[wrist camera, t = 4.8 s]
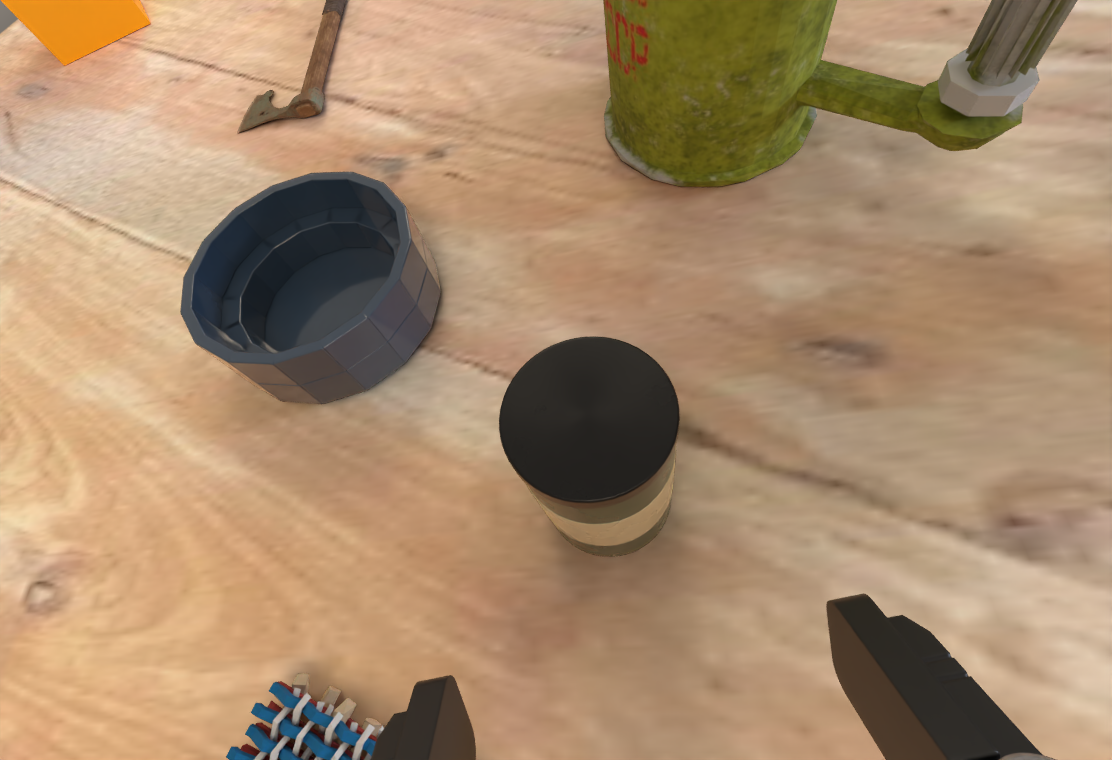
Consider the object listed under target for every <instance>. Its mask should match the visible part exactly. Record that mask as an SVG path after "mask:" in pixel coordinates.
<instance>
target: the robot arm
mask: <svg viewBox="0 0 1112 760" xmlns="http://www.w3.org/2000/svg"><path fill="white" fill-rule="evenodd" d="M826 607H827V617H828V626H829V634H830V643H831V651H832V659H833V664H834V668H835V671H836V674H837V677H838V679H839V682H840V684H841V686H842V688H843V690H844V692H845V694H846V695H847V697H848V699H849V700H850V702H851V704H852V705H853V707H854V708H855V710H856V712H857V713H858V715H859V717H860V718H861V720H862V721H863V723H864V725H865V726H866V728H867V730H868V731H869V733H870V735H871V736H872V738H873V739H874V741H875V743H876V744H877V746H878V748H879V749H880V751H881V752H882V754H883V756H884V757H885V759H886V760H1056V759H1053V758H1050V757H1047V756H1044V755H1042V754H1041V753H1040V752H1039V751H1038V750H1037V749H1036V748H1035V747H1034V745H1033V744H1032V743H1031V742H1030V741H1029V740H1028V739H1027V738H1026V737H1025V736H1024V734H1023V733H1022V732H1021V731H1020V730H1019V729H1018V728H1017V727H1016V726H1015V725H1014V723H1013V722H1012V721H1011V720H1010V719H1009V718H1008V717H1007V716H1006V715H1005V714H1004V712H1003V711H1002V710H1001V709H1000V708H999V707H998V706H997V705H996V704H995V703H994V701H993V700H992V699H991V698H990V697H989V696H988V695H987V694H986V693H985V692H984V690H983V689H982V688H981V687H980V686H979V685H978V684H977V683H976V682H975V681H974V679H973V678H972V677H971V676H970V677H969V676H968V675H967V672H966V671H965V670H964V668H963V667H962V666H961V665H960V664H959V663H958V662H957V661H956V660H955V659H954V658H952V657H951V656H950V653H949V652H948V651H947V650H946V649H945V647H944V646H943V645H942V644H941V643H940V642H939V641H938V640H937V639H936V638H935V636H934V635H933V634H932V633H931V632H930V631H928V630H927V629H925V628H923V627H922V626H920V625H918V624H917V623H915V622H913V621H912V620H910V619H908V618H907V617H905V616H903V615H900V616H895V617H889V618H887V617H886V616H885V615H884V613H883V612H882V611H881V610H880V609H879V607H878V606H877V605H876V604H875V603H874V601H873V600H872V599H871V598H870V597H869V596H868V595H866V594H860V595H855V596H850V597H845V598H840V599H835V600H830V601H828V602H827V606H826ZM370 760H476V746H475V737H474V732H473V728H472V725H471V722H470V719H469V716H468V714H467V711H466V708H465V705H464V703H463V700H462V697H461V694H460V691H459V689H458V686H457V683H456V681H455V679H454V677H453V676H451V675H449V676H444V677H439V678H434V679H429V680H424V681H419V682H417V683H416V684H415V686H414V689H413V692H412V696H411V699H410V702H409V706H408V709H407V712H402V713H397V714H394V715H393V717H392V718H391V719H390V721H389V722H388V724H387V725H386V727H385V728H384V729H383V731H382V732H381V734H380V735H379V737H378V738H377V741H376V744H375V747H374V750H373V753H372V756H371V759H370Z"/></svg>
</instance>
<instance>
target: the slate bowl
mask: <svg viewBox="0 0 1112 760" xmlns="http://www.w3.org/2000/svg"><path fill="white" fill-rule="evenodd" d="M440 294H441V288H440V283H439V278H438V273H437V268H436V263H435V260H434V258H433V256H432V254H431V252H430V251H429V249H428V247H427V245H426V243H425V241H424V239H423V238H422V236H421V234H420V232H419V230H418V228H417V226H416V225H415V223H414V221H413V219H412V217H411V215H410V213H409V211H408V210H407V208H406V206H405V205H404V204H403V203H402V202H401V201H400V199H399V198H398V197H397V196H396V195H395V194H394V193H393V192H392V191H391V190H390V189H389V187H388V186H387V185H386V184H384V183H383V182H380V181H378V180H375V179H372V178H369V177H366V176H363V175H360V174H357V173H354V172H323V173H310V174H307V175H304V176H301V177H297V178H294V179H291V180H288V181H285V182H282V183H279V184H275V185H272V186H270V187H269V188H267V189H265V190H264V191H262V192H261V193H259V194H257V195H256V196H254V197H252V198H251V199H249V200H248V201H246V202H244V203H243V204H241V205H239V206H238V207H236V208H235V209H234V210H232V212H231V213H230V214H229V215H228V216H227V217H226V218H225V219H224V220H223V221H222V222H221V223H220V224H219V225H218V226H217V227H216V228H215V229H214V230H213V231H212V232H211V233H210V234H209V235H208V236H207V237H206V238H205V239H204V241H203V242H202V243H201V245H200V247H199V249H198V251H197V253H196V255H195V257H194V259H193V260H192V262H191V264H190V266H189V268H188V270H187V272H186V274H185V276H184V279H183V290H182V301H181V311H180V312H181V315H182V317H183V319H184V321H185V323H186V325H187V327H188V330H189V332H190V334H191V336H192V338H193V340H194V342H195V343H196V344H197V345H198V346H199V347H201V348H202V349H203V350H205V351H206V352H208V353H209V354H210V355H212V356H213V357H215V358H216V359H217V360H219V361H220V362H222V363H223V364H224V365H226V366H228V367H229V368H230V369H232V370H233V371H234V372H236V373H237V374H239V375H240V376H241V377H243V378H244V379H246V380H247V381H248V382H250V383H251V384H253V385H254V386H256V387H258V388H259V389H261V390H263V391H265V392H266V393H268V394H270V395H271V396H273V397H275V398H276V399H278V400H280V401H283V402H298V403H314V404H325V403H328V402H331V401H335V400H338V399H341V398H344V397H347V396H351V395H354V394H357V393H360V392H363V391H366V390H368V389H370V388H371V387H373V386H374V385H376V384H377V383H378V382H380V381H381V380H383V379H384V378H385V377H387V376H388V375H390V374H391V373H392V372H394V371H395V370H397V369H398V368H399V367H401V366H402V365H404V364H405V363H406V362H407V360H408V359H409V358H410V356H411V355H412V354H413V352H414V351H415V350H416V348H417V347H418V346H419V344H420V343H421V341H422V340H423V339H424V337H425V336H426V335H427V333H428V332H429V331H430V329H431V326H432V323H433V319H434V315H435V312H436V308H437V304H438V301H439V297H440Z"/></svg>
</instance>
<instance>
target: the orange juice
mask: <svg viewBox="0 0 1112 760" xmlns="http://www.w3.org/2000/svg"><path fill="white" fill-rule="evenodd" d="M1 1H2V2H3V3H4V4H5V5H6V6H7V7H8V9H9V10H10V11H11V12H12V13H14V15H15V16H16V17H17V18H18V19H19V20H20V21H21V22H22V23H23V24H24V25H25V26H26V27H27V28H28V29H29V30H30V31H31V32H32V33H33V34H34V35H35V36H36V37H37V38H38V39H39V40H40V41H41V42H42V43H43V44H44V45H45V46H46V47H47V48H48V49H49V50H50V51H51V53H52V54H53V55H54V56H55V57H56V58H57V59H58V60H59V61H60V62H61V63H62V64H63V65H64V66H65V65H67V64H69V63H71V62H73V61H75V60H77V59H79V58H81V57H83V56H85V55H87V54H89V53H91V52H93V51H96V50H98V49H100V48H102V47H104V46H106V45H108V44H110V43H112V42H114V41H116V40H118V39H120V38H122V37H124V36H126V35H128V34H130V33H132V32H134V31H136V30H138V29H140V28H142V27H144V26H146V25H148V24H150V21H149V19H148V17H147V14H146V12H145V10H144V8H143V6H142V4H141V2H140V0H1Z"/></svg>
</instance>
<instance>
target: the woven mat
mask: <svg viewBox="0 0 1112 760" xmlns="http://www.w3.org/2000/svg"><path fill="white" fill-rule="evenodd" d="M308 690H309V674H297V676H296V678H295V680H294V681H293V683H292V687H290V686H288V685H287V684H285V683H283V682H281V681H280V682H275V683H273V685H272V686H271V688H270V690H269V692H271V693H272V694H274V695H275V696H276V697H277V699H278V700H279V701H280V702H281V703H282V704H283V705H284V708H283V709H282V708H281V707H279V706H278V705H277V704H276V703H274V702H273V701H271V702H270V704H269V706H268V707H265V706H264V705H263V704H261V703H256V704H255V706H254V707H253V709H252V711H251V713H252V714H253V715H255V716H256V717H258V718H260V719H262V720H265V721H267V722H269V723H271V724H272V729H270V728H269V727H267V726H266V725H264V724H263V723H256V724H255V725H254V724H252V725H250V726H249V728H248V730H247V731H246V733H245V735H247V736H249V737H250V738H251V739H252V741H253V742H254V743H255V745H256V746H257V747H258V748H259V750H260V751H259V750H257V749H255V748H254V747H252V746H250V745H248V744H245V745H243V746H242V747H241V749H239V748H238V747H231V748H230V750H229V752H228V754H227V756H226V757H227V758H228V759H229V760H277V759H278V757H279V758H280V760H370V759H371V756H372V753H373V750H374V747H375V744H376V741H377V738H378V737H379V735H380V734H381V732H382V731H383V729H384V727H383V725H382V724H380V723H379V722H378V721H376V720H375V719H372V718H367V719H366V720H365V721H364V723H363V725H362V727H360V726H359V725H358V723H356V722H355V721H353V720H352V719H351V718H350V716H351V715H352V713H353V712H354V709H355V707H356V705H357V704H356V703H354V702H353V701H352V700H351V699H350V698H349V697H348V698H347V699H346V700H345V701H344V702H343V703H342V704H341V705H339V706H338V707H337V708H336V709H335V710H333V709H334V704H335V702H336V700H337V698H338V696H339V694H340V693H341V691H340V690H338V689H336V688H334V687H332V686H330V685H329V687H328V689H327V690H326V692H325V694H324V696H323V697H322V699H321V701H318V702H316V701H314V700H313V699H311V696H310V695H309V694H308ZM301 713H303V714H304V715H305V716H306V717H307V718H308V719H309V721H308V723H307V724H306V723H304V722H303V721H301V720H300V717H301ZM381 725H382V727H381ZM380 727H381V728H380ZM378 731H379V732H378ZM377 733H378V735H377ZM376 735H377V737H376ZM290 738H293V739H296V741H295V744H293V743H291V742H290V741H289V739H290ZM349 745H352V747H351V749H350V751H349V750H348V749H347V747H348V746H349ZM312 753H314V754H315V755H316V756H317V757H316V758H314V757H312V756H311V755H312ZM367 753H368V754H367Z"/></svg>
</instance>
